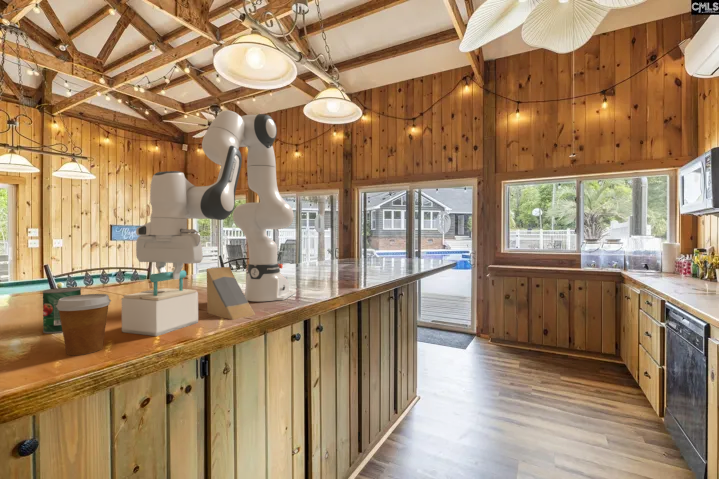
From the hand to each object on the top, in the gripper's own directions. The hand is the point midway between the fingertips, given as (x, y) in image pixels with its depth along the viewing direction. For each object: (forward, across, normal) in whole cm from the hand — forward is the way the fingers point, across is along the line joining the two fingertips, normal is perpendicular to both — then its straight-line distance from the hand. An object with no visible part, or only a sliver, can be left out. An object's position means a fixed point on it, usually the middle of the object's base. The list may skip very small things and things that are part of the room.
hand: (169, 279), depth 93 cm
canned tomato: (+14, +27, +10) cm, 32 cm away
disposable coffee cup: (+14, +3, +20) cm, 24 cm away
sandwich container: (+14, -5, -19) cm, 24 cm away
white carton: (+14, +3, 0) cm, 14 cm away
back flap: (+4, +6, 0) cm, 7 cm away
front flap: (+4, 0, 0) cm, 4 cm away
